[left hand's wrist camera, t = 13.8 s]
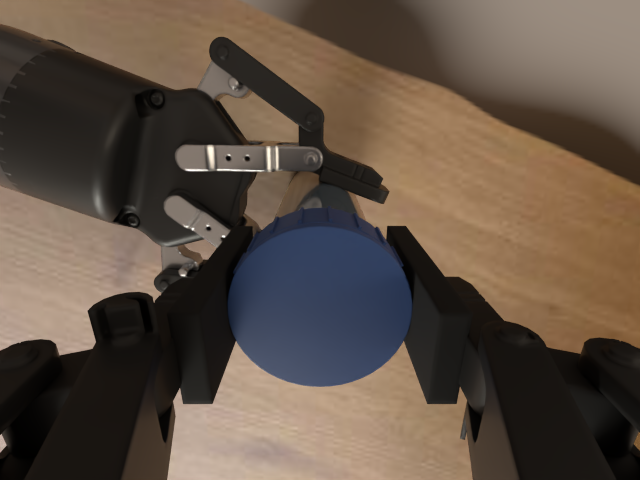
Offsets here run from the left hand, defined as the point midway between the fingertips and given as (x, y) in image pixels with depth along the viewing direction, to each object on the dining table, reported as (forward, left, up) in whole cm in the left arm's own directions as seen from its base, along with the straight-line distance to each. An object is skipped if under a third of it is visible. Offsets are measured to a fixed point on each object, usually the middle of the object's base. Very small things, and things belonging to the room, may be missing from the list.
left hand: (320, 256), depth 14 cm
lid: (0, 0, +4) cm, 4 cm away
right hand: (-3, 0, -5) cm, 6 cm away
